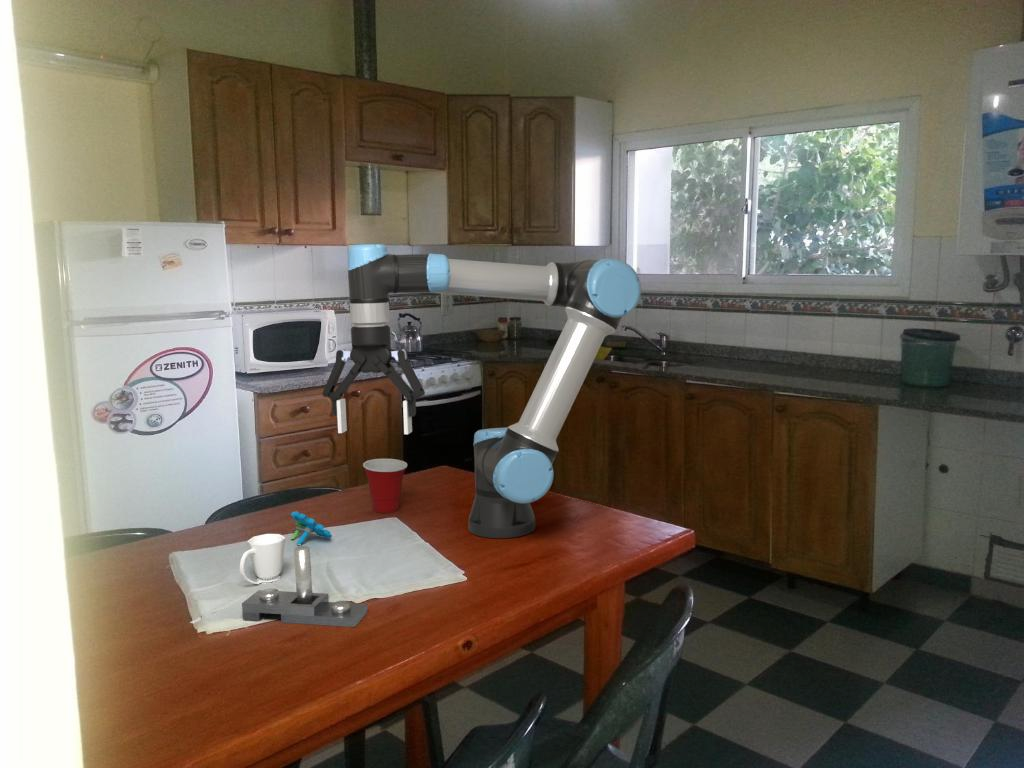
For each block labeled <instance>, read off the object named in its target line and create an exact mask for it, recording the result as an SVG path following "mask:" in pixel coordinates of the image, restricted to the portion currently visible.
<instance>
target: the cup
mask: <svg viewBox="0 0 1024 768" xmlns="http://www.w3.org/2000/svg"><path fill="white" fill-rule="evenodd" d="M246 543H247V546H248V550H246V551H245V552H244V553H243V554H242V557H241V558H240V562H239V563H240V564H239V573H240V577H241V578H242V579H243V580H245V581H246V582H248V583H250V584H255V585H260V584H259V583H261V582H272V581H276V580H278V579H279V578H280V577H281V576H280V574H281V573H282V569H283V564H284V555H285V546H286V545H285V543H286V537H285V536H283V535H282V534H281V533H264V534H259V535H255V536H252V537H251V538H250V539H248V540H247V541H246ZM248 555H250V560H251V563H252V564H251V565H252V567H253V571H254V573H255V575H256V576H257V578H256V581H254V580H251V579H249V578H248V577H247V576H246V574H245V562H246V560H247V557H248ZM271 577H272V579H271ZM273 577H274V578H273ZM262 578H270V579H267V580H266V579H265V580H263V579H262ZM280 579H281V578H280ZM280 579H279V580H280ZM257 580H258V581H257ZM279 580H278V581H279Z"/></svg>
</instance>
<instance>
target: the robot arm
mask: <svg viewBox="0 0 1024 768" xmlns="http://www.w3.org/2000/svg"><path fill="white" fill-rule="evenodd" d="M347 275H348V280H347V281H348V291H349V292H348V293H349V294H348V295H349V313H350V314H349V315H350V316H349V317H350V323H351V324H352V325H353V326H351V328H350V336H351V338H350V339H351V350H346V349H345V348H343V349H339V350H337V351H336V353H335V361H334V365H333V367H332V370H331V372H330V374H329V377H328V379H327V381H326V384H325V385H324V388H323V391H322V396H323V397H324V398H329V399H331V401H332V403H331V404H332V405H331V406H332V414H333V417H337V433H338V434H343V433H345V432H347V431H348V426H347V423H348V422H347V407H346V404H347V403H346V398H343V396H344V394H345V393H346V392H347V390H348V389H349V387H350V386H351V385H353V382H354V381H355V380H356V379H357V377H358V376H359V374H360V373H362V374H368V373H373V374H379V373H382V374H384V375H385V376H386V377H387V378H388V380H390V381H391V382H392V383H393V384H394V386H395V387H396V388H397V389H398V391H399V392H400V393H401V394H402V396H404V397H405V400H403V401H402V408H403V410H402V411H403V435H409V434H411V433H412V432H413V425H412V424H413V419H412V418H414V417H415V416H416V415H417V408H416V407H417V402H416V400H417V399H419V398H421V397H423V396H425V394H426V393H425V392H426V391H425V389H424V387H423V386H422V383H421V381H420V380H419V378H418V376H417V374H416V372H415V370H414V368H413V366H412V364H411V362H410V361H409V355H408V350H407V349H406V348H402V349H400V350H393V349H392V345H391V344H392V343H391V327H390V326H389V325H387V324H388V323H389V322H390V319H391V318H390V298H389V297H390V294H419V293H421V294H423V293H424V294H441V295H442V294H443V295H454V296H455V295H457V296H470V297H484V298H498V299H499V298H501V299H511V300H513V299H515V300H527V301H529V300H530V301H542V302H543V303H544V304H545V305H546V306H549V307H559V308H564V310H565V313H566V317H567V321H566V323H564V324H565V325H564V326H563V328H562V330H561V332H560V335H559V337H558V339H557V341H556V344H555V345H554V347H553V349H552V351H551V354H550V356H549V357H548V359H547V362H546V364H545V366H544V368H543V370H542V373H541V375H540V377H539V378H538V380H537V383H536V385H535V387H534V389H533V391H532V394H531V395H530V397H529V400H528V402H527V404H526V406H525V408H524V410H523V412H522V415H521V416H520V418H519V421H518V422H515V423H514V424H511V425H509V426H507V427H495V428H491V427H490V428H485V429H484V428H483V429H478V430H477V431H476V432H474V435H473V444H472V445H473V453H474V454H473V457H474V458H473V459H474V461H473V462H474V483H475V484H474V487H475V494H474V495H475V497H474V499H473V503H472V506H471V510H470V513H469V516H468V531H469V532H470V533H471V534H473V535H475V536H479V537H482V538H487V539H510V538H511V539H512V538H517V537H518V538H519V537H521V536H525V535H528V534H531V533H533V532H534V531H535V529H536V517H535V513H534V510H533V508H532V505H531V503H534V502H535V501H538V500H539V499H541V498H542V497H544V496H545V495H546V494H547V493H548V491H549V490H550V489H551V486H552V484H553V481H554V475H555V474H554V467H553V464H554V461H555V459H556V457H557V455H558V453H559V450H560V449H559V446H558V443H557V438H558V437H559V434H560V432H561V430H562V428H563V426H564V423H565V421H566V419H567V417H568V415H569V413H570V411H571V409H572V406H573V405H574V402H575V400H576V398H577V396H578V394H579V392H580V390H581V387H582V386H583V384H584V381H585V379H586V378H587V375H588V373H589V371H590V369H591V367H592V365H593V363H594V361H595V358H596V357H597V354H598V351H599V350H600V348H601V346H602V344H603V342H604V339H605V337H607V336H609V335H612V334H614V333H616V331H617V330H618V327H619V326H620V324H621V322H622V321H621V320H622V319H623V317H626V316H627V315H628V314H630V313H632V311H634V310H635V309H636V307H637V306H638V304H639V302H640V299H641V295H642V287H641V286H642V283H641V281H640V278H639V275H638V273H637V272H636V270H635V269H634V268H633V266H631V265H630V264H628V263H627V262H625V261H623V260H619V259H615V258H610V257H609V258H607V257H605V258H602V259H586V260H581V261H580V260H579V261H574V262H573V261H572V262H553V261H551V262H549V263H547V264H546V265H533V264H522V263H521V264H519V263H506V262H493V261H483V260H481V261H480V260H469V259H455V258H448V256H446V255H445V254H442V253H441V254H439V253H430V252H429V253H418V254H417V253H411V254H392V253H389V251H388V248H387V246H386V245H385V244H382V243H380V244H379V243H377V244H375V243H370V244H369V243H366V244H364V243H363V244H354V245H351V246H350V247H349V249H348V250H347ZM393 358H394V360H395V361H396V362H398V364H399V366H400V368H401V370H402V372H403V374H404V376H405V379H406V380H407V382H408V383H407V382H406V381H405V380H404V379H403V378H402V377H401V375H400V374H399V373H398V372H397V371H396V369H395V367H394V366H393V364H392V363H391V361H392V360H393ZM349 359H351V361H352V362H353V363H354V364H353V365H352V367H351V368H350V370H349V372H348V373H347V374H346V375H345V377H344V378H343V380H342V381H341V382H340V384H339V385H338V386H337V384H338V381H339V379H340V378H341V375H342V372H343V370H344V368H345V365H346V362H347V361H349ZM408 384H409V385H410V386H409V385H408Z"/></svg>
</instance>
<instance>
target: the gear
mask: <svg viewBox="0 0 1024 768" xmlns="http://www.w3.org/2000/svg"><path fill="white" fill-rule="evenodd" d="M290 516H291V517H292V519H293V520H294V521H295V523H294V525H295V526H296V527H294V529H295V532H294V533H293V534H292V536H291V537H290V539H291V538H292V539H293V538H295V539H296V537H297V536H298V535H299V533H301V534H302V535H301V536H300V537H299V540H298V541H297V542H296V544H297V545H298V544H301V543H302V544H303V543H304V542H305V540H306V539H307V537H308V535H311V533H315V535H317V536H318V535H319V536H318V537H320V536H322V537H323V538H324V537H325V538H328V539H327V540H331V538H332V537H333V535H332V534H331V531H330V530H328V529H325V526H324V525H322V524H320V523H317V522H316V520H315V519H313V518H311V517H310V518H309V517H308V516H307V515H306V514H304V513H300V512H298V511H297V510H296V511H292V513H290ZM322 537H321V538H322ZM325 538H324V539H325Z"/></svg>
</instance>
